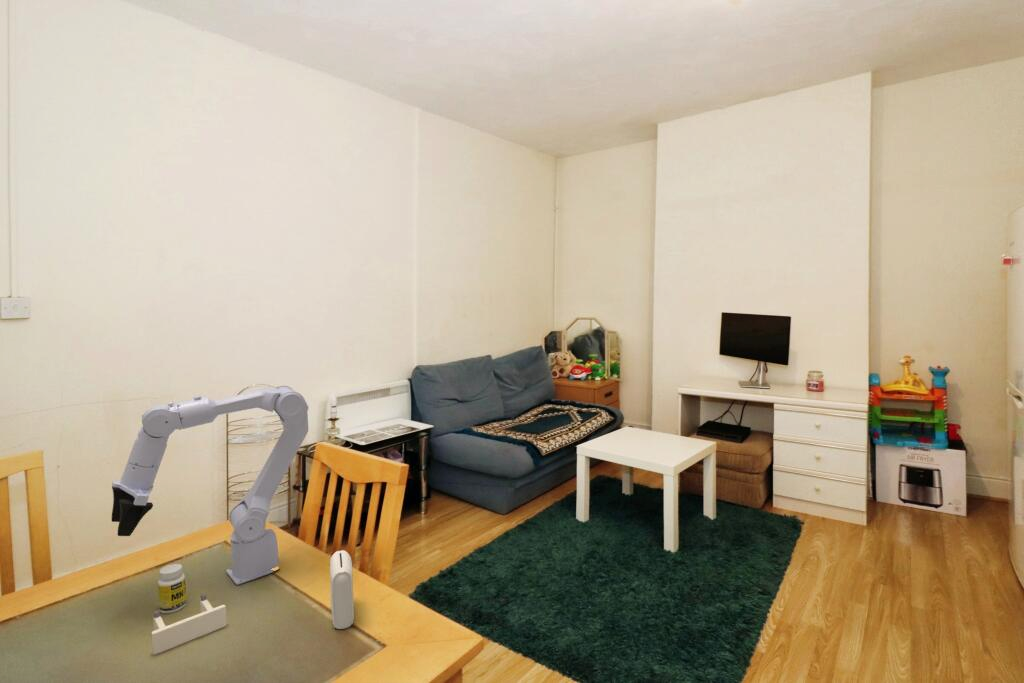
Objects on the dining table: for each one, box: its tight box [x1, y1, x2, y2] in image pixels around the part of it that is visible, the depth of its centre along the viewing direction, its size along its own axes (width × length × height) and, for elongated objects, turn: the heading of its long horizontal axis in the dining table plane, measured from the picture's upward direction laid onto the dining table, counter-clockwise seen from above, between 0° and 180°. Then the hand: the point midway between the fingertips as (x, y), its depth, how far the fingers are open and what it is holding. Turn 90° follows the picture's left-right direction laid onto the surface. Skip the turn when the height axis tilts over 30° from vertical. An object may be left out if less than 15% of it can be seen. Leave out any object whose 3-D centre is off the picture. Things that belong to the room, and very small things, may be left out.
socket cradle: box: [151, 593, 227, 656], centre depth 102 cm, size 12×8×4 cm, turn 134°
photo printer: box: [329, 549, 355, 630], centre depth 107 cm, size 10×4×12 cm, turn 20°
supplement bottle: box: [157, 563, 187, 614], centre depth 110 cm, size 5×5×8 cm
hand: (120, 528), depth 108 cm, fingers open, 7 cm apart
